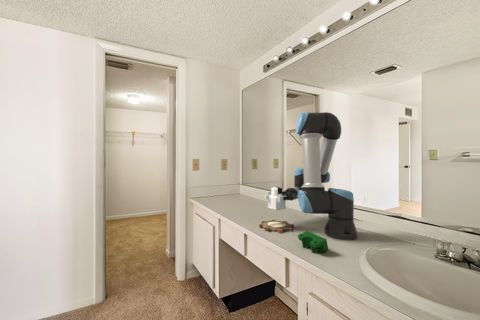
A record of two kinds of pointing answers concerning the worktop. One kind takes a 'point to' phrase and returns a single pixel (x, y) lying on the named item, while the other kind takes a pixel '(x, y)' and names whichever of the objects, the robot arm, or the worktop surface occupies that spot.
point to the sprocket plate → (276, 226)
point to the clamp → (313, 241)
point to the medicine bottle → (276, 199)
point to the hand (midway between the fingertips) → (272, 198)
